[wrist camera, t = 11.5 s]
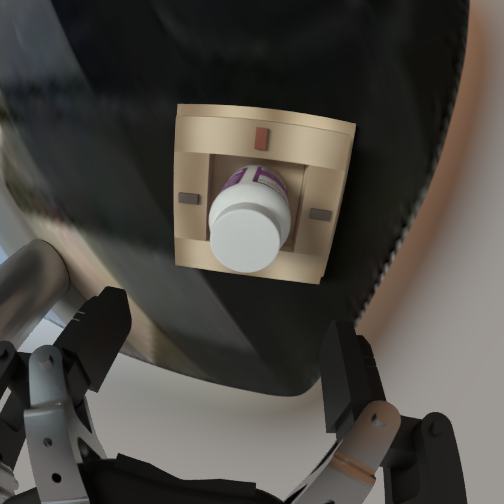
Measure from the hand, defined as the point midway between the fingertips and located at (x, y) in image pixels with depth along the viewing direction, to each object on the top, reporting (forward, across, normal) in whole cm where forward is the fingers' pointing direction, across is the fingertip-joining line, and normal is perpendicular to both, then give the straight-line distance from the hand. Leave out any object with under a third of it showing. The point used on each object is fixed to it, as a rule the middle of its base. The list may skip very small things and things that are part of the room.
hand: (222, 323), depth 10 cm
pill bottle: (+16, 0, 0) cm, 16 cm away
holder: (+16, 0, 0) cm, 16 cm away
